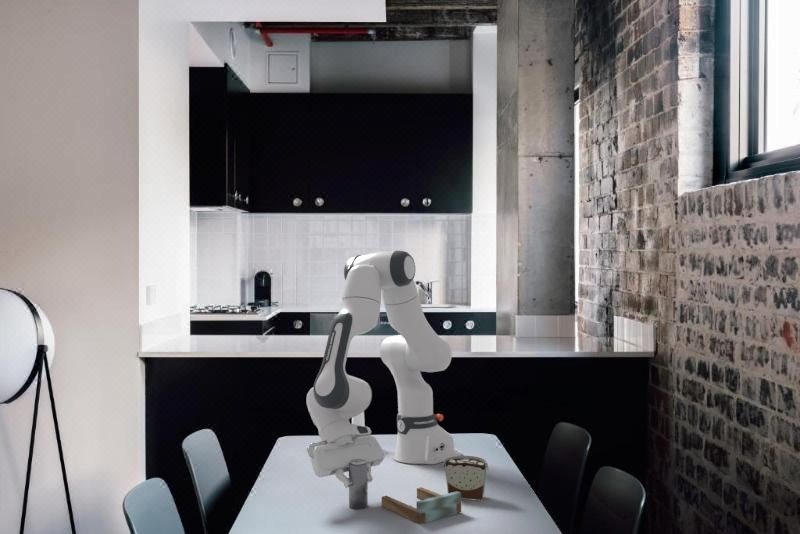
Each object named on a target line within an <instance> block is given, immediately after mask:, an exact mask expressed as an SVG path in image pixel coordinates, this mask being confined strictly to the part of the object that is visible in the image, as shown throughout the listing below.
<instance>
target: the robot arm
mask: <svg viewBox="0 0 800 534" xmlns="http://www.w3.org/2000/svg"><path fill="white" fill-rule="evenodd" d="M415 275H416V263H415V260H414V258H413V256H412V255H411V254H410V253H409V252H407V251H404V250H394V251H392V250H391V251H390V250H389V251H388V250H387V251H383V250H382V251H375V252H371V253H367V254H362V255H361V254H359V255H358V254H357V255H354V256H351V257H350V258H349V259H348V260H347V261H346V263H345V265H344V268H343V278H344V280H345V282H344V285H343V290H342V295H341V296H342V297H341V303H340V309H339V310H338V311H339V312H338V314H337V315H336V316H335V318H333V321H332V324H331V326H330V330H329V333H328V338H327V341H326V346H325V349H324V353H323V358H322V362H321V364H320V365H321V366H320V368H319V372H318V373H317V375H316V378H315V381H314V383H313V387H311V388H310V389H309V391H308V392H307V394H306V406H307V409H308V413H309V415H310V417H311V420H312V422H313V425H314V426H315V427H316V428H317V429H318V437H319V438H320V440H321V441H318V442H311V443H309V445H308V446H307V448H306V451H307V455H308V456H309V458H310V463H311V466H312V469H313V472H314V475H315V476H317V477H319V478H324V477H329V476H333V475H335V477H336V479H338V480H339V481H340V482H341V483H343V485H344V487H345V488H349V487H351V485H352V484H353V482H352V481H351V478H349V477H347V475H345V473H349V463H350V461H351V460H354V459H364V460H366V462H367V469H368V483H372V481H373V476H372V474H371V473H372V467H376V466H380V465H381V463H383V460H384V459H385V452H384V450H383V448H382V446H381V445H380V443H379V441H378V440H377V439H376V437H375V436H373V435H371V434H372V430H371V428H370V427H368V426H366V425H365V426H359V425H355V424H352V423H350V419H352V417H354V416H356V415H358V414H360V413H362V412H363V411H364V412H365V411H366V410H367V409H368V408H369V406H370V404H371V402H372V398H373V390H372V387H371V386H370V384H369V383H368V382H366V380H364V379H361V378H358V377H356V376H353V375H350V374H348V373H347V371H346V363H347V360H348V359H347V358H348V355H349V350H350V344H351V342H352V340H353V339H354V337H356V336H358V335H362V334H363V335H364V334H367V333H369V332H370V331H371V330H373V329H374V328H375V327H376V326H377V324H378V321H379V318H380V313H381V301H383V304H384V305H383V306H384V309H385V313H386V315H387V316H386V317H387V320H388V323H389V325H390V327H391V328H393V329H394V331H396V332H397V333H399V334H398V335H397V334H395V335H392V336H391V335H390V336H387V337H385V338H384V339H383V341H382V342H381V345H380V348H379V356H380V359H381V361H382V362H383V364H384V365H385V366H386V367H387V368H388V369H389V371H390V373H391V375H392V376H393V379H394V382H395V385H396V391H397V407H398V408H397V411H398V413H397V415H396V427H397V436H396V437H397V438H396V444H395V445H396V446H395V450H394V454H393V457H392V459H393V460H395V461H396V462H399V463H405V464H416V465H417V464H419V465H421V464H424V465H425V464H426V465H436V464H440V463H444V461H445V459H446V458H449V457H454V456H463V454H462V451H461V450H459V449H457V448H455V442H454V438H453V435H451V433H449V432H447V431H446V430H445V429H444V428H443V427H442V426H440V425H439V424H438V421H439V422H442V421H443V420H444V415H443V414H440V413H437V414H435V413H434V397H433V396H434V395H433V394H434V393H433V389H432V387H431V386H430V384H429V383H427V382H426V380H424V378H423V376H422V372H423V373H424V372H426V373H435V372H442V371H445V370H446V369H448V367H449V366H450V364H451V361H452V356H453V353H452V348H451V346H450V344H449V343H448V342H447V341H446V340H444V339H443V338H442V337H440V335H439V334H437V332H436V331H435V330H434V329H433V327H432V326H431V324H430V323H429V322H428V320H427V318H426V316H425V314H424V309H423V308H422V305H421V301H420V296H419V293H418V289H417V286H416V283H415V280H414V278H415V277H416V276H415Z"/></svg>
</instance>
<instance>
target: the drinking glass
mask: <svg viewBox="0 0 800 534" xmlns="http://www.w3.org/2000/svg"><path fill="white" fill-rule="evenodd" d="M348 478H351V481H352V482H353V484H352V485H351V487H348V507H349V508H350V509H353V510H364V509H366V508H368V505H369V503H368V502H369V501H368V497H369V496H368V488H369V487H368V469H367V462H366V460H364V459H354V460H351V461H350V463H349V472H348Z"/></svg>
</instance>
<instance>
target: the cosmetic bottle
mask: <svg viewBox="0 0 800 534" xmlns="http://www.w3.org/2000/svg"><path fill="white" fill-rule="evenodd" d="M365 421H366V420H365V411H363V412H362V413H360V414H358V415H356V416H354V417H352V418H351V424H355V425H359V426H366V424H365Z"/></svg>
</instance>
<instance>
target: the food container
mask: <svg viewBox="0 0 800 534" xmlns="http://www.w3.org/2000/svg"><path fill="white" fill-rule="evenodd" d="M442 463H443V465H442V468H445V480H446V487H447V489H446V490H447V494H448V493H452V492H456V491H458V492H461V498H463V499H462V500H470V499H475V500H474V501H480V500H483V501H484V497H485V487H486V486H485V485H486V475H487V471H489V465H488V462H487V460H486V459H485V458H482V457H479V456H474V455H461V456H454V457H449V458H446V459H445V461H443V462H442Z"/></svg>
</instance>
